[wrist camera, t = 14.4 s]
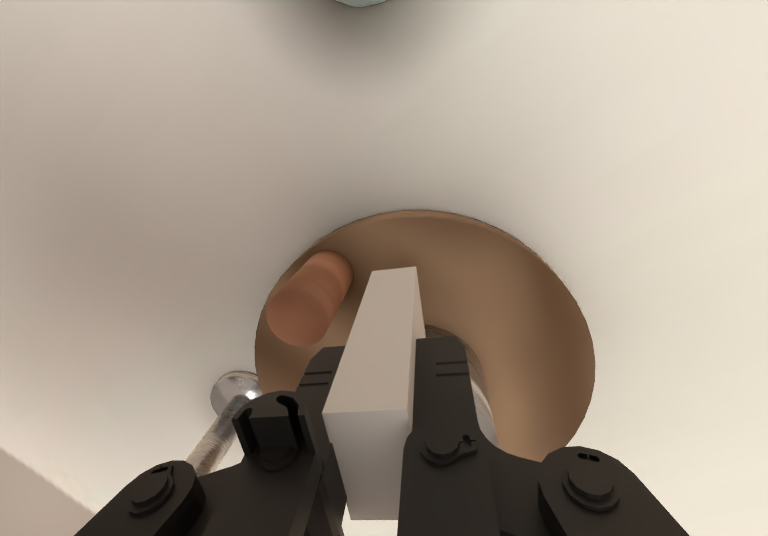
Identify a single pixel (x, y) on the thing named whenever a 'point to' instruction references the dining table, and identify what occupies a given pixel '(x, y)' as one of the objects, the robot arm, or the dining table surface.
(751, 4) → the dining table surface
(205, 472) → the indicator post
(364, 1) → the cup
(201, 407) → the dining table surface
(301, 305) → the turntable
